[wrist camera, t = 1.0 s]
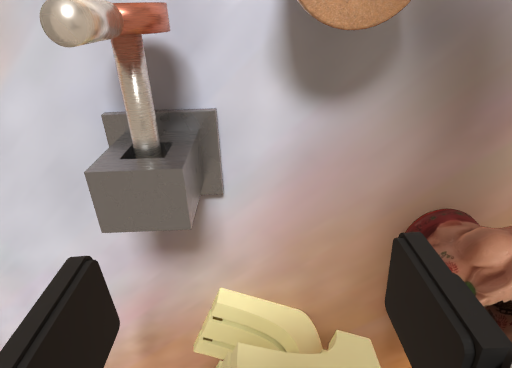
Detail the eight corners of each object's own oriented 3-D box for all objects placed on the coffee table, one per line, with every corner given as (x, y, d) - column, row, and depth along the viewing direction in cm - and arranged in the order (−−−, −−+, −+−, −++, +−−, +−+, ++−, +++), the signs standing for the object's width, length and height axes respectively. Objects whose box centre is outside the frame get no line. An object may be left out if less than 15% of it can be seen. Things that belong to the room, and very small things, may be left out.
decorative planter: (422, 308, 51) (478, 404, 39) (352, 286, 49) (387, 381, 36) (515, 202, 43) (624, 281, 30) (436, 169, 40) (519, 240, 28)
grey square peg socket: (104, 112, 36) (51, 150, 26) (216, 108, 36) (204, 144, 27) (124, 193, 41) (85, 251, 31) (223, 190, 41) (215, 246, 31)
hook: (92, 3, 29) (-12, -1, 17) (174, 0, 29) (124, -6, 17) (137, 202, 38) (88, 285, 26) (199, 199, 38) (177, 282, 26)
